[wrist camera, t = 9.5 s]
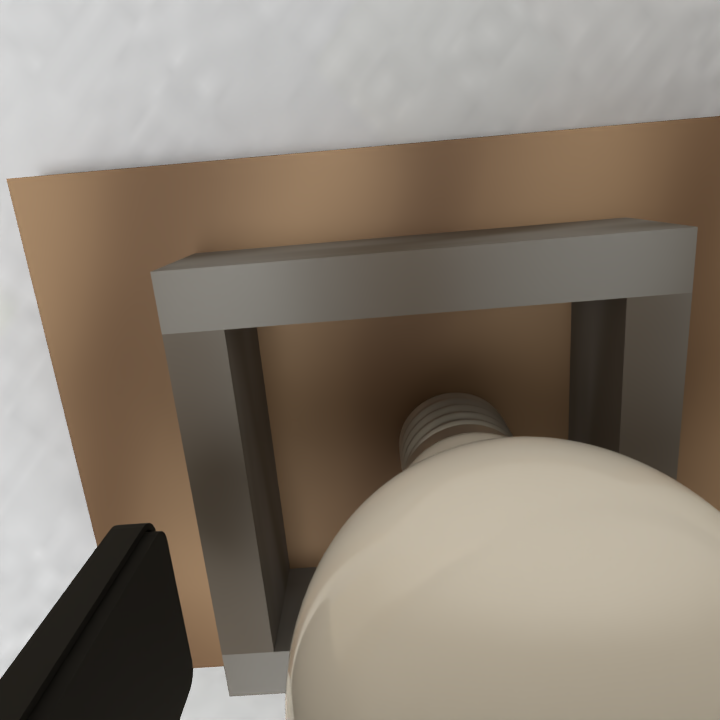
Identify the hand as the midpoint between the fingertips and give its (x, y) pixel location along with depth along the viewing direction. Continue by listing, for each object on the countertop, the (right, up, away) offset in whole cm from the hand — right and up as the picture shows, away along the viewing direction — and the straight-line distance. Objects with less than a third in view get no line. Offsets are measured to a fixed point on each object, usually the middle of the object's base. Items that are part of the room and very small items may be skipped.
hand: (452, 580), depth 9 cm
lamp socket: (0, +2, +7) cm, 7 cm away
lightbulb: (+1, +2, +6) cm, 6 cm away
